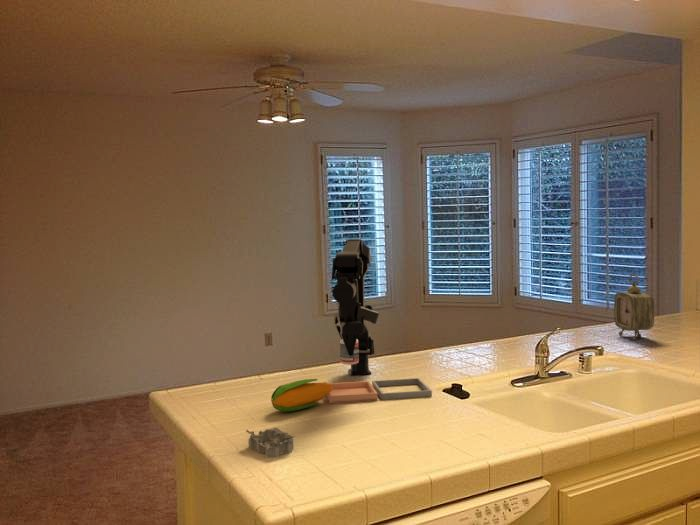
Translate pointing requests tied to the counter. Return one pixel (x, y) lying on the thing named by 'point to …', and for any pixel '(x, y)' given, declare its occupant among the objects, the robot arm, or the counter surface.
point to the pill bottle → (345, 356)
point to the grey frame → (396, 395)
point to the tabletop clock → (634, 310)
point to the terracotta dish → (352, 392)
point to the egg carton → (271, 442)
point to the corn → (299, 395)
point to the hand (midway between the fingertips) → (349, 353)
